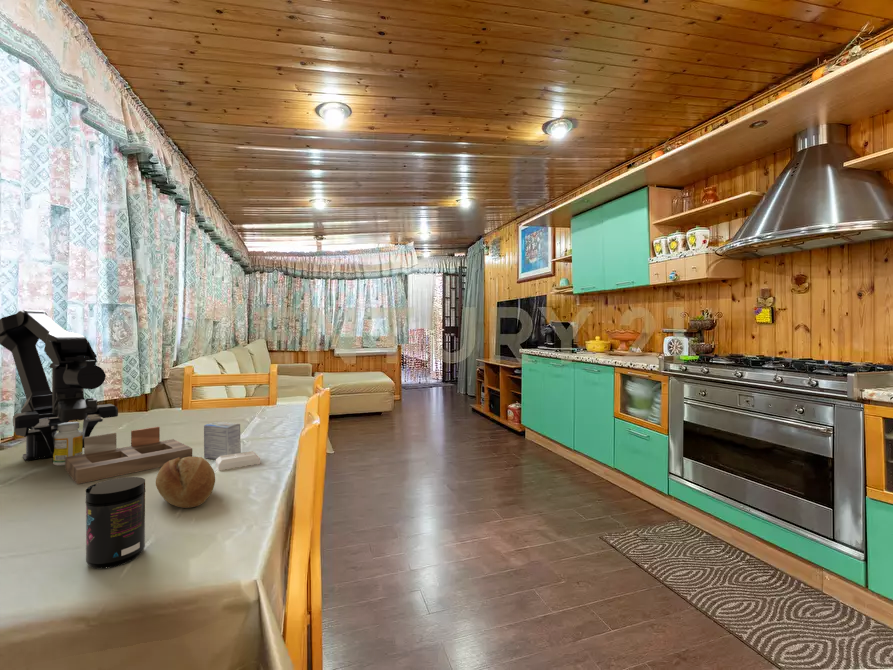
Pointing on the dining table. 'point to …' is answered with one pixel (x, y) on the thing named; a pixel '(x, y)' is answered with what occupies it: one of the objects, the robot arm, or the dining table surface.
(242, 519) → the dining table surface
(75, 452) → the supplement bottle
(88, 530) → the supplement container
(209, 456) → the medicine box
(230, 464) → the soap bar
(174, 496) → the bread roll
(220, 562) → the dining table surface
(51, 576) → the dining table surface
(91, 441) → the socket board
